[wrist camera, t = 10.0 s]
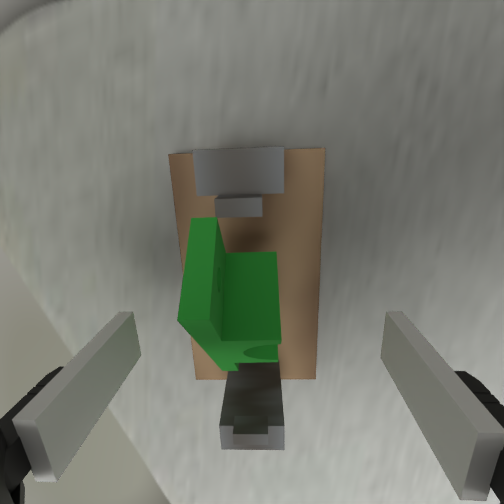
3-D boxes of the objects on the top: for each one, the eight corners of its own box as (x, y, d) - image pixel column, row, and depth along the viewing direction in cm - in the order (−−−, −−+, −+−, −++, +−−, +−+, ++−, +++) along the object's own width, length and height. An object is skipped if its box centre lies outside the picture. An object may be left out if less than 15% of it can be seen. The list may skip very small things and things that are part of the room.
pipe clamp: (274, 305, 22) (277, 370, 19) (225, 306, 22) (222, 371, 19) (278, 214, 12) (285, 322, 10) (190, 217, 12) (176, 324, 10)
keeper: (321, 148, 19) (364, 142, 11) (313, 368, 25) (337, 470, 17) (173, 154, 19) (111, 152, 11) (199, 369, 25) (169, 468, 17)
